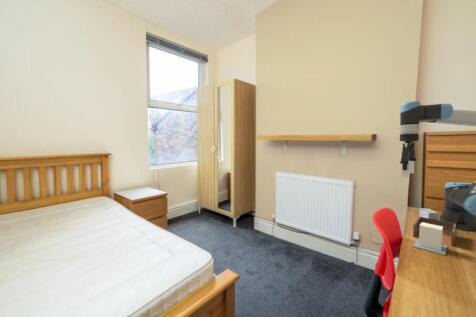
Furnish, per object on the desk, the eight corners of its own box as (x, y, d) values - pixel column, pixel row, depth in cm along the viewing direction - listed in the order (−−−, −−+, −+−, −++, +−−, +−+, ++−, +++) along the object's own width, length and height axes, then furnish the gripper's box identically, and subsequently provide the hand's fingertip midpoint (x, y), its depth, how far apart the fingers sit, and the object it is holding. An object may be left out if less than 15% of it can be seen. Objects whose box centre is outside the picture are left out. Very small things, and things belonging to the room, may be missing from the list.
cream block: (421, 241, 97) (421, 222, 96) (442, 246, 91) (443, 226, 91) (418, 245, 93) (419, 225, 93) (440, 250, 88) (441, 230, 87)
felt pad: (417, 239, 99) (417, 238, 99) (447, 246, 92) (447, 245, 92) (413, 246, 93) (413, 245, 93) (445, 255, 85) (445, 254, 85)
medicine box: (438, 229, 109) (439, 213, 108) (428, 229, 110) (429, 212, 109) (428, 223, 117) (428, 208, 116) (418, 223, 118) (419, 207, 117)
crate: (418, 227, 112) (418, 216, 111) (455, 235, 102) (455, 223, 101) (413, 236, 102) (413, 224, 102) (453, 246, 92) (453, 233, 92)
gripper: (405, 133, 118) (404, 171, 119) (393, 133, 101) (392, 177, 103) (423, 132, 112) (421, 172, 114) (413, 133, 96) (412, 179, 97)
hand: (407, 174), depth 108 cm, fingers open, 13 cm apart
